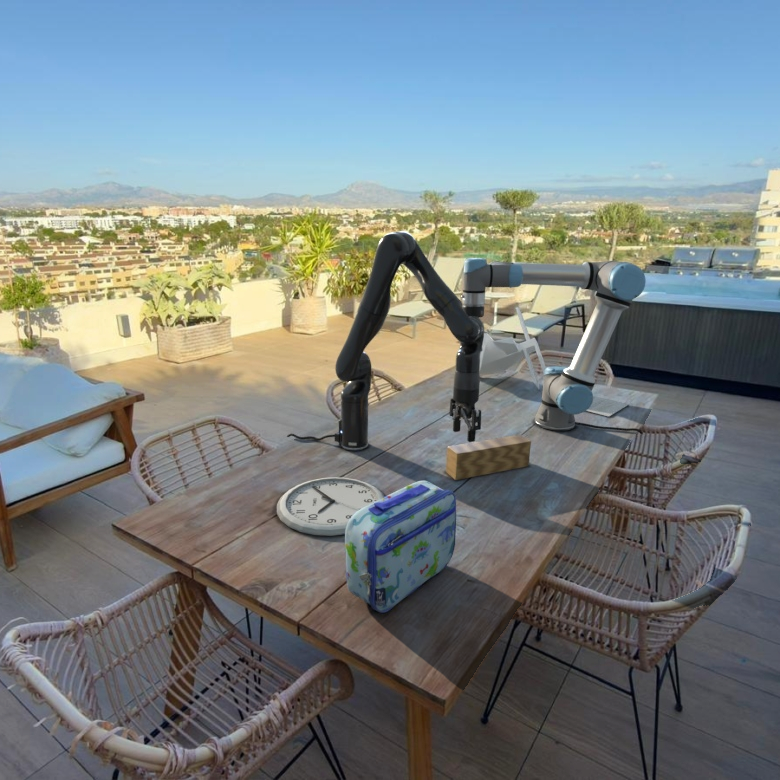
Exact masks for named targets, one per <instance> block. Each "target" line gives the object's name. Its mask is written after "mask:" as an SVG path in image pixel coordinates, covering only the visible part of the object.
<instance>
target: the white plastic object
mask: <svg viewBox="0 0 780 780" xmlns="http://www.w3.org/2000/svg"><path fill="white" fill-rule="evenodd" d="M515 311H516V314H517V317H518V320H519V323H520V326H521V329H522V332H523V336H524V338H525V341H522V342H519V343H518V342H516V340H515V339H514V337H513V336H510V337H505V338H501V339H497V340H494V339H493V338H492V337H491V335H490V334H489V333H487V332H486V333H485V332H484V339H483V344H482V351H481V353H480V371H479V374H480V377H481V376H490V375H496V376H500V375H502V374H505V373H506V372H507V370H508V369H509V368H511V367H512V366H513V365H515V364H517V363H518V362H520V361H521V360H522V359H523V358H524V357H525V360H526V363H527V367H528V370H529V372H530V376H531V379H532V382H533V384H534V386H535V387H536V388H537V389H538V390H540V383H539V380H538V377H537V374H536V371H535V368H534V365H533V361H532V359H531V356H530V354H533V353H535V352H536V355H537V359H538V362H539V364H540V367H541V370H542V373H543V375H544V374H545V369H546V368H547V366H546V364H545V363H546V362H545V360H544V358H543V355H542V351H541V348H540V345H539V343H538V341H537V339H536V338H535V337H532V338H531V337H530V334H529V332H528V328H527V325H526V322H525V320H524V315H523V313H522V311H521V310H520V307H519V306H517V307H515Z"/></svg>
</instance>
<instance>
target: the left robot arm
mask: <svg viewBox="0 0 780 780" xmlns="http://www.w3.org/2000/svg"><path fill="white" fill-rule="evenodd" d="M402 265H403V266H404V267H405V268H407V269H408V270H409V271H410V273H412V275H413V276H414V277H415V279H416V280H417V282H418V284H419V286H420V289H421V290H422V292H423V295H424V297H425V298H426V300H427V302H428V303H429V304H430V305H431V306H432V308H433V309H434V310H435V311H436V312H437V314H439V315H440V317H441V318H442V319H443V320H444V323H445V324H446V327H447V328H448V329H449V331H450V333H451V335H452V336H453V337H454V338H455V339H456V340H457V341H458V342H459V348H458V351H457V352H456V355H455V366H454V376H453V390H452V397H451V398H450V401H449V413H448V415H449V417H451V418H452V432H454V433H459V432H460V431H461V424H462V420H461V419H463V421H464V424H466V426H467V436H466V437H467V440H466V441H467V443H471V442H476V431H481V429H482V410H481V409H476V403H478V402H479V397H480V385H481V384H480V383H481V376H480V374H479V371H480V353H481V349H482V344H483V339H484V333H485V324H484V322H483V321H482V319H481V318H480V317H479V318H478V317H475V316H470V317H469V316H468V315H467V314H466V313H465V311H464V310H463V308H462V306H463V303H462V301H461V300H460V298H459V297H458V296H457V295H456V293H455V292H454V291H453V290H452V289H451V288H450V286H448V285H447V283H446V282H445V281H444V279H442V277H441V276H440V275H439V274H438V272H437V271H436V269H435V268H434V266H432V264H431V263H430V261H429V259H428V257H427V256H426V255H425V253H424V252H423V250H422V248H421V246H420V244H418V242H417V240H416V239H415V237H414V236H413V235H412V234H410V233H409V232H407V231H395V232H390V233H387V234H385V235H383V237H381V238H380V240H379V242H378V244H377V248H376V250H375V254H374V259H373V264H372V268H371V271H370V275H369V278H368V280H367V282H366V286H365V289H364V291H363V294H362V297H361V299H360V301H359V304H358V307H357V309H356V312H355V316H354V319H353V322H352V324H351V327H350V330H349V332H348V335H347V338H346V340H345V342H344V344H343V346H342V348H341V350H340V352H339V354H338V355H337V358H336V361H335V366H334V369H335V374H336V377H337V378H338V380H340V381H341V382H345V383H346V385H345V386H344V387H343V389H341V391H340V419H338V431H336V432H335V433H333V434H327V435H323V436H321V437H316V436H313V435H312V436H311V435H309V436H299V435H298V434H297V435H296V434H295V433H289V434H287V436H286V438H290V437H294V438H296V439H298V440H310V439H311V440H314V441H322V440H324V439H328V438H334V442H336V443H338V446H339V447H341V448H342V449H344V450H346V451H352V452H354V451H355V452H357V451H363V450H365V449H367V448H368V447H369V395H370V392H371V386H372V369H373V368H372V362H371V358H370V356H369V355H368V354H367V352H365V350H366V348H367V346H369V344H370V343H371V342H372V341H373V340H374V339H375V337H377V335H378V334H379V332H380V331H381V330H382V328H383V326H384V324H385V322H386V320H387V317H388V315H389V312H390V309H391V303H392V302H391V301H392V297H391V296H392V295H391V294H392V293H391V292H392V291H391V290H392V289H391V288H392V285H393V281H394V279H395V277H396V274H397V272H398V270H399V269H400V267H401V266H402Z"/></svg>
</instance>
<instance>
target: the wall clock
mask: <svg viewBox="0 0 780 780" xmlns="http://www.w3.org/2000/svg"><path fill="white" fill-rule="evenodd" d="M384 497H386V495H385V494H384V493H383V492H382V491H381V490H380V489H379V488H377V487H376V486H374V485H372V484H371V483H369V482H365V481H362V480H359V479H355V478H349V477H338V476H337V477H335V476H333V477H332V476H331V477H322V478H317V479H312V480H307V481H305V482H302V483H299V484H297V485H295V486H293V487H292V488H290V489H288V490H287V491H286V492H285V493H284V494H283V495H281V496H280V498H279V499H278V502H277V503H276V515H277V517H278V518H279V520H280V521H281V522H282V523H283V524H285V525H286V526H287V527H288V528H290V529H293V530H295V531H297V532H299V533H303V534H308V535H312V536H327V537H328V536H329V537H331V536H332V537H333V536H342V535H345V531H346V527H347V524H348V522H349V520H350V518H351V517H352V515H353V514H354V513H355V512H357V511H358V510H360V509H362V508H364V507H366V506H368V505H370V504H372V503H374V502H376V501H378V500H380V499H382V498H384Z"/></svg>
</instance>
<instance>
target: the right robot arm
mask: <svg viewBox="0 0 780 780" xmlns="http://www.w3.org/2000/svg"><path fill="white" fill-rule="evenodd" d="M487 261H488V260H487V259H486V258H485V257H484V258H481V257H480V258H479V257H471V258H466V259H465V260H464V263H463V271H462V277H463V278H462V295H460V298H461V299H462V301H461V302H462V308H463V310H464V311H465V313H466V314H467V315H468V316H469V317H470V316H475V317H478V318H479V319H480V318H483V317H484V316H485V305H484V304H486V288H510V289H512V288H520V286H522V285H531V286H532V285H533V286H556V287H557V286H558V287H579V288H580V289H581V290H587V291H594V292H596V293H595V295H594V298H595V300H596V304H595V307H594V309H593V312H592V314H591V316H590V318H589V321H588V323H587V325H586V327H585V330H584V333H583V335H582V337H581V340H580V341H579V345H578V347H577V349H576V351H575V353H574V355H573V358H572V360H571V363H570V365H569V366H548V367H546V369H545V374H544V373H543V381H542V382H543V384H542V394H541V402H540V405H539V407H538V410H537V411H536V413H535V417H534V424H535V425H536V426H537V427H539V428H542V429H544V430H549V431H556V432H567V431H572V430H574V429H575V428H576V425H577V426H581V427H587V428H594V429H600V430H610V431H611V430H613V431H624V432H638V433H639V434H641V435H643V434H644V432H643V431H642V430H641V429H639V428H636V427H633V428H631V427H630V428H626V427H614V426H602V425H601V426H600V425H595V424H590V423H584V422H578V421H576V418H575V417H576V416H575V415H581V414H582V413H585V412H587V411H586V410H587V409H589V407H590V406H591V404H592V402H593V398H594V393H593V389H594V387H595V385H596V380H595V377H594V375H595V373H596V371H597V369H598V367H599V364H600V362H601V359H602V358H603V355H604V353H605V350H606V348H607V346H608V344H609V342H610V340H611V338H612V335H613V333H614V330H615V328H616V326H617V324H618V322H619V319H620V317H621V315H622V313H623V312H624V311H625V310H627V309H629V308H630V307H631V304H632V303H633V300H635V299H637V298H638V297H639V296H640V295H642V293H643V291H644V290H645V287H646V283H647V282H646V281H647V280H646V279H647V278H646V275H645V273H644V271H643V269H642V268H641V267H639V266H638V265H637V264H634V263H631V262H628V261H618V260H605V261H585V262H583V263H582V264H571V263H570V264H569V263H568V264H566V263H541V262H540V263H539V262H537V263H536V262H510V261H509V262H508V261H507V262H506V261H498V260H495V261H491V262H489V263H488V262H487ZM481 351H482V349H481Z"/></svg>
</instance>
